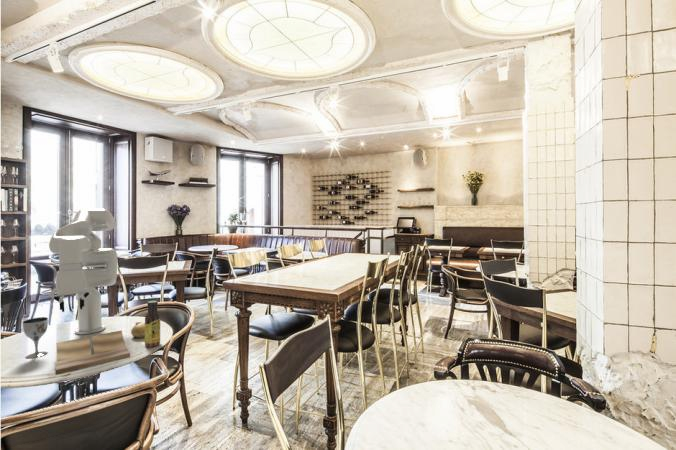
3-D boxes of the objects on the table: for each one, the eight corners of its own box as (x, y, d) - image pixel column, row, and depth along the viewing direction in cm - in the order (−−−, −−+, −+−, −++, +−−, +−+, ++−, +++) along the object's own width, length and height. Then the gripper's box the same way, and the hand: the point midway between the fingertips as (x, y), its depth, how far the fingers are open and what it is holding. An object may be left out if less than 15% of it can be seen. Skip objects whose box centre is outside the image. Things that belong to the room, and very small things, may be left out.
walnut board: (55, 365, 134) (55, 362, 134) (126, 349, 149) (126, 346, 149) (55, 373, 127) (55, 370, 127) (130, 356, 142) (130, 352, 142)
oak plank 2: (92, 338, 149) (92, 336, 148) (121, 332, 156) (121, 330, 155) (94, 355, 142) (94, 353, 142) (124, 348, 150) (125, 346, 149)
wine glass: (53, 352, 146) (52, 318, 145) (31, 360, 139) (30, 324, 138) (41, 350, 149) (40, 316, 148) (19, 357, 141) (17, 322, 141)
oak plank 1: (56, 345, 141) (56, 343, 141) (89, 338, 148) (89, 336, 148) (57, 364, 135) (57, 361, 134) (91, 356, 142) (91, 354, 141)
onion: (150, 332, 170) (150, 318, 170) (149, 337, 163) (149, 323, 163) (132, 335, 167) (131, 320, 167) (130, 340, 160) (129, 325, 159)
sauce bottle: (153, 348, 150) (152, 304, 149) (141, 347, 152) (140, 303, 151) (164, 342, 157) (163, 300, 156) (152, 341, 158) (151, 299, 157)
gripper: (94, 264, 151) (96, 304, 151) (43, 268, 139) (45, 311, 140) (96, 266, 145) (98, 308, 146) (43, 270, 134) (45, 316, 135)
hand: (72, 309), depth 143 cm, fingers open, 5 cm apart
